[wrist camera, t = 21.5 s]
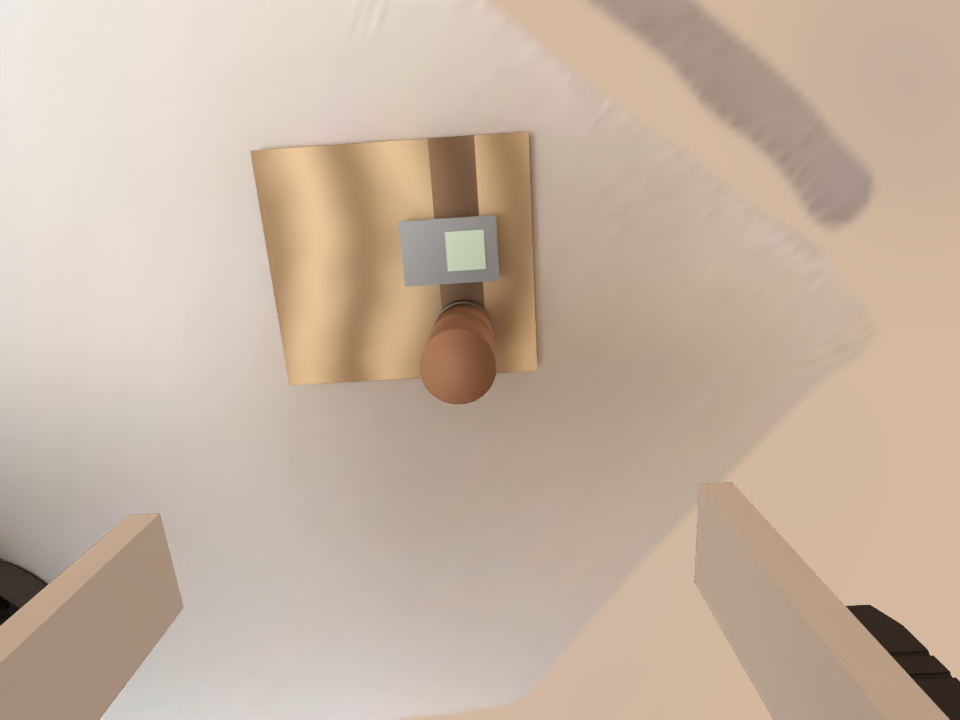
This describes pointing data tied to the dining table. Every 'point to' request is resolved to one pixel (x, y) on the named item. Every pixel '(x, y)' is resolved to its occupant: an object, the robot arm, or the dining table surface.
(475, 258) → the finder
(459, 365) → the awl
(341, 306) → the board
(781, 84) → the dining table surface
